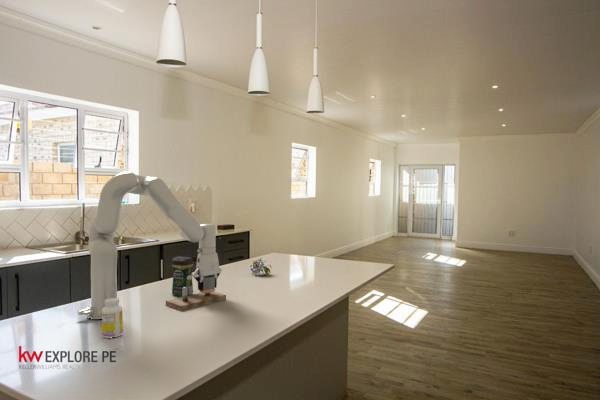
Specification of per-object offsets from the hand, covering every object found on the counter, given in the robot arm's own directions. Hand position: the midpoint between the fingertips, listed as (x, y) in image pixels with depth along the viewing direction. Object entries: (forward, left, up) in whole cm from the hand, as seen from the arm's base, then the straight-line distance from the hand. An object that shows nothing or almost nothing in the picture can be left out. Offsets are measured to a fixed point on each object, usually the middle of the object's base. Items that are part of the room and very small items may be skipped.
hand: (207, 288), depth 190 cm
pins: (-6, 0, -3) cm, 7 cm away
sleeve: (0, 0, -1) cm, 1 cm away
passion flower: (+53, +21, -5) cm, 57 cm away
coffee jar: (-3, +16, -5) cm, 17 cm away
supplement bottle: (-50, -13, -5) cm, 52 cm away
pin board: (-6, 0, -5) cm, 8 cm away
